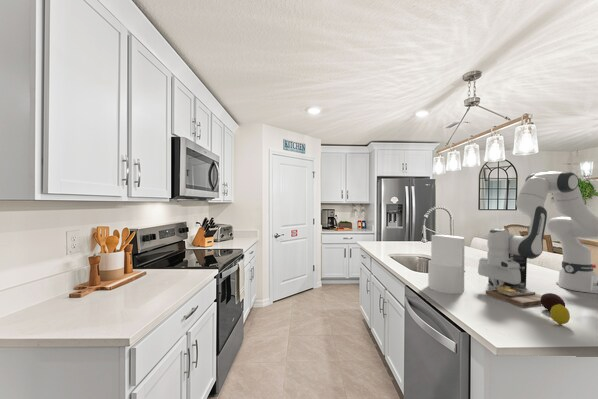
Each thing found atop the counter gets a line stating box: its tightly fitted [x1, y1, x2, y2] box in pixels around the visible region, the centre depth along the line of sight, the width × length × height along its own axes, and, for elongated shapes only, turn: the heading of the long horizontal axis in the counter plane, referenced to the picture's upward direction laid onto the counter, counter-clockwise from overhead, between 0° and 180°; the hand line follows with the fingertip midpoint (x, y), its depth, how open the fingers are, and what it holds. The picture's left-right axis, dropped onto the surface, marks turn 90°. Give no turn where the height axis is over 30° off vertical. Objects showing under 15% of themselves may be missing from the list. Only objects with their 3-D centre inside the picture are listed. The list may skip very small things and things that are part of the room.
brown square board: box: [485, 287, 543, 308], centre depth 139 cm, size 20×18×2 cm
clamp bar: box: [504, 289, 536, 296], centre depth 139 cm, size 16×3×1 cm, turn 106°
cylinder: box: [427, 234, 465, 295], centre depth 154 cm, size 17×17×28 cm
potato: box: [540, 292, 566, 312], centre depth 123 cm, size 8×9×8 cm
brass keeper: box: [498, 285, 516, 294], centre depth 139 cm, size 4×6×3 cm, turn 16°
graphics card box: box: [487, 253, 528, 288], centre depth 160 cm, size 17×7×27 cm, turn 84°
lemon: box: [549, 304, 571, 326], centre depth 109 cm, size 6×6×8 cm
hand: (497, 288), depth 143 cm, fingers closed
